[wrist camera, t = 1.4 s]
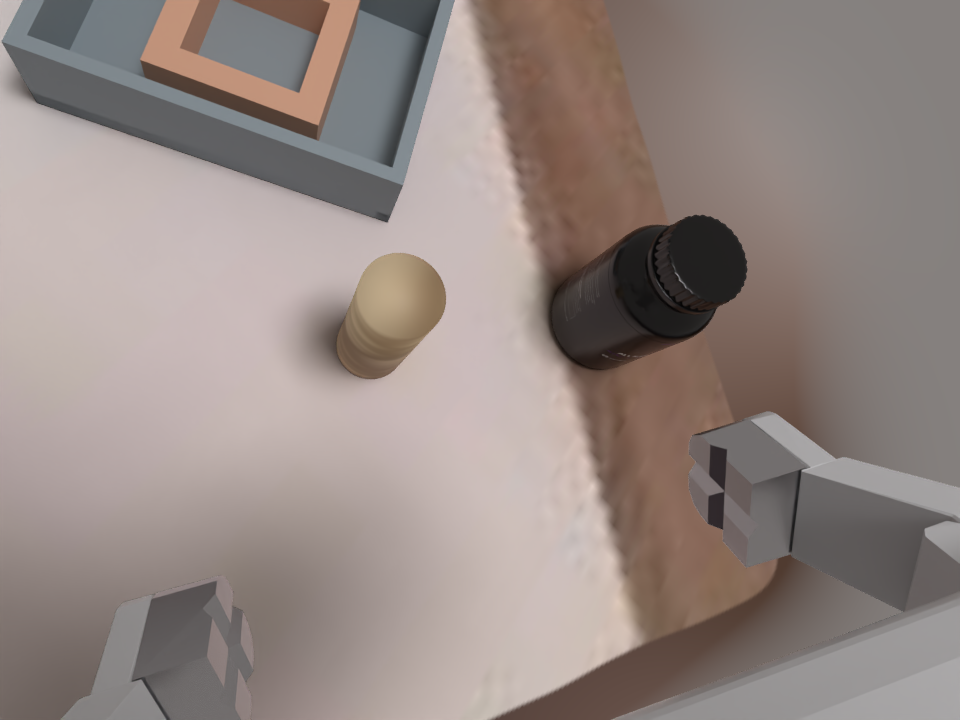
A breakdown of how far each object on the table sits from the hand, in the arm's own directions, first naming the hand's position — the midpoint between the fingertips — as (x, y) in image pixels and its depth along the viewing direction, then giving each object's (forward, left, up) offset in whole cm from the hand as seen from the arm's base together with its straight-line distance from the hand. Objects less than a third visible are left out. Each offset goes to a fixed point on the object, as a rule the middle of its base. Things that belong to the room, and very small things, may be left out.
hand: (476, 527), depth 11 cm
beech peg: (0, +10, -26) cm, 28 cm away
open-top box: (-11, +25, -26) cm, 38 cm away
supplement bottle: (+14, +16, -27) cm, 34 cm away
